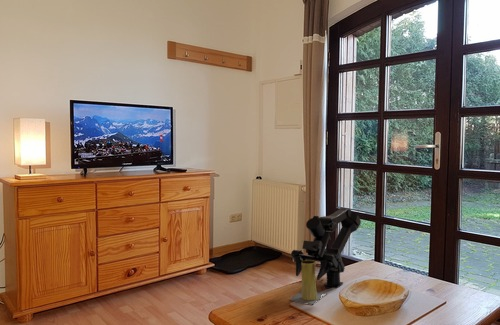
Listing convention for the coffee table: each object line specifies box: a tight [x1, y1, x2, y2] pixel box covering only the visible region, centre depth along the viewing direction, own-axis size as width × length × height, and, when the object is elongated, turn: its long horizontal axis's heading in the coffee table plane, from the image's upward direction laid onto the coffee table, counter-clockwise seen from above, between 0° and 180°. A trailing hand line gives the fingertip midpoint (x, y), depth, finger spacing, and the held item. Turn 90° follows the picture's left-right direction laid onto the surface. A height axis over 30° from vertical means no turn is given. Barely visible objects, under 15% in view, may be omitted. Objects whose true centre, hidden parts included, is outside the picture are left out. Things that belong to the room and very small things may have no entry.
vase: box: [301, 260, 318, 301], centre depth 155 cm, size 6×6×14 cm
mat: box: [289, 290, 326, 305], centre depth 158 cm, size 13×10×1 cm
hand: (306, 277), depth 154 cm, fingers open, 9 cm apart
